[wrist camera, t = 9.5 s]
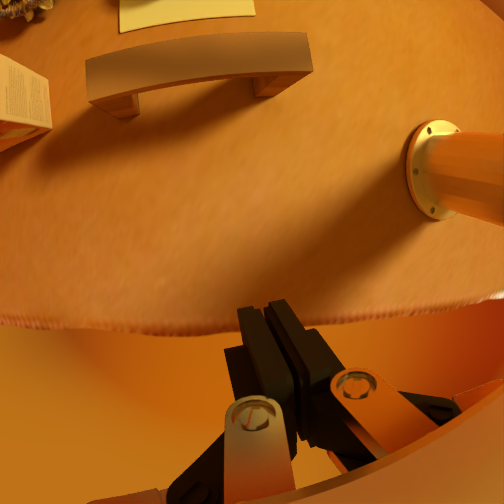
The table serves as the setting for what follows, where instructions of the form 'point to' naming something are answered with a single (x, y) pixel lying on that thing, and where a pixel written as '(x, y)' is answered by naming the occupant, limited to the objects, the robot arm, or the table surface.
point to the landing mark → (178, 11)
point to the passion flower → (23, 8)
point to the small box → (22, 104)
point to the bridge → (197, 66)
